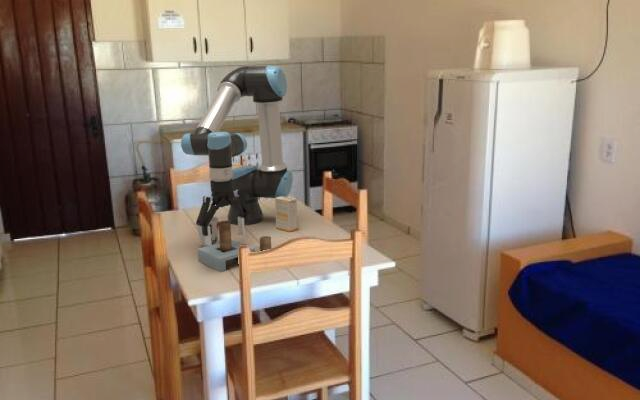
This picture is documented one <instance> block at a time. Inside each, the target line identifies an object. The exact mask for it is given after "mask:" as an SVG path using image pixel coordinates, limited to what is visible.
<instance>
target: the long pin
mask: <svg viewBox="0 0 640 400" xmlns="http://www.w3.org/2000/svg"><path fill="white" fill-rule="evenodd" d="M218 224H219V230H218V239H219V243H220V251H221V252H223V253H224V252H228V251H231V250H232V242H231V240H232V228H231V223H230V221H228V220H221V221H219V222H218ZM233 259H234V258H233ZM233 259H230V260H227V261H225V262H226V264H230V263H232V262H233Z"/></svg>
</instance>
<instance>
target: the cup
mask: <svg viewBox="0 0 640 400" xmlns="http://www.w3.org/2000/svg"><path fill="white" fill-rule="evenodd" d="M195 221H196V222H197V219H196V220H195ZM196 222H195V223H196ZM218 222H220V221H219V217H217V216H213V218H212V219H211V221H210V223H209V225H208V226H210V231H211V245H213V244H217V243H218V239H219V224H218ZM196 227H197V234H198V237H199V241H200V243H201V246H202V247H206V246H209V245H207V244H205V236H204V235H203V234H202V226H199V225H196Z"/></svg>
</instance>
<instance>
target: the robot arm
mask: <svg viewBox="0 0 640 400" xmlns="http://www.w3.org/2000/svg"><path fill="white" fill-rule="evenodd" d="M287 83H288V82H287V77H286V74H285V71H283V69H282V68H281V67H280V66H277V65H276V66H275V65H252V66H249V65H243V66H239V67H237V68H235V69H234V70H232V71H230V72H229V73H227V75H225V76H224V78H222V80H221V81H220V83H219V84H218V85H217V87H216V88H217V89H216V91H217V93H216V94H215V96H214V97H213V100H212V101H211V102H210V104H209V107H208V108H207V110H206V111H205V112H204V114H203V116H202V118H201V120H200V121H199V123H198V125H197V127H196V128H195V130H194V131H193V132H189V133H185V134H183V135H182V137H181V141H180V147H181V149H182V151H183V153H184V154H185V155H190V156H196V157H197V156H208V163H209V164H208V167H209V168H208V169H209V170H208V171H209V179H210V181H209V183H210V192H211V195H210V196H207V195H204V196H203V197H202V205H201V207H200V210H199V213H198V216H197V218H196V220H197V222H195V224H196V226H197V225H199V226H202V234H203V235H204V236H205V244H207V245H209V246H210V245H211V231H210V226H208V225H209V223H210V221H211V219H212V218H213V217H215V214H216V213H217V211H218V210H219V209H220V208H224V207H229V210H228V213H227V221H230V224H233V225H237V229H238V230H237V231H238V236H241V237H245V236H246V235H245V234H246V232H245V230H246V229H245V227H246V225H252V224H253V225H254V224H257V223H260V222H262V221H263V220H264V213H263V211H262V208H261V205H260V202H259V198H263V199H264V198H266V199H275V198H277V197H280V196H286V197H289V195H290V193H291V189H292V187H293V181H294V180H293V178H294V177H293V173H292V171H291V170H288V166H287V165H288V164H286V163H285V162H284V158H283V144H282V129H281V117H280V116H281V115H280V104H281V102H282V101H283V97H285V96H286V95H287V89H288V84H287ZM243 97H252V101H253V102H252V103H254V104H255V105H256V106H257V115H258V116H257V117H258V129H259V140H260V155H261V164H260V165H259V166H258V167H257V165H255V164H254V165H252V164H251V165H244V166H243V165H242V166H238V167H234V168H233V160H232V158H234V157H238V156H240V155H241V154H243V153H245V151H246V150H247V148H248V140H247V139H246V137H245V136H244V135H243V134H241V133H239V132H235V133H234V132H233V133H229V132H227V131H220V130H221V128H222V126H223V125H224V123H225V121H226V119H227V118H228V116H229V114H230V113H231V110H232V109H233V107H234V105H235V103H238V102H240V100H241V98H243Z"/></svg>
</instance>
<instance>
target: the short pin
mask: <svg viewBox="0 0 640 400" xmlns="http://www.w3.org/2000/svg"><path fill="white" fill-rule="evenodd" d="M267 249H271V250H272V237H271V236H268V235H262V236H261V237H259V252H260V251H263V250H267Z"/></svg>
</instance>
